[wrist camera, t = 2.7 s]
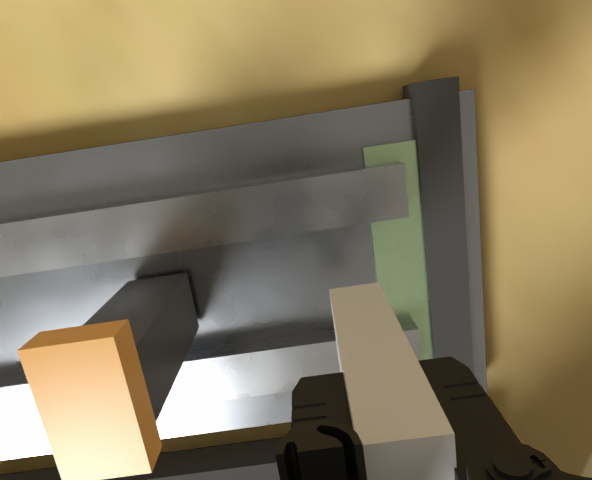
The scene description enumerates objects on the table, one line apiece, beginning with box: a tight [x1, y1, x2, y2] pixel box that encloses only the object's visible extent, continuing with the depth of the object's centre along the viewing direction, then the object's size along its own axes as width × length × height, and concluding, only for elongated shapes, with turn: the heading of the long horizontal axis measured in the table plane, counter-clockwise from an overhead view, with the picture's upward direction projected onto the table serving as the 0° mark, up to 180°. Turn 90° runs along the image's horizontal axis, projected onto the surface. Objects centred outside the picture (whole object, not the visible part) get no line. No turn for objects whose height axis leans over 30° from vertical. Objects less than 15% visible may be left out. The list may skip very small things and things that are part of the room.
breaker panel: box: [0, 89, 487, 461], centre depth 18 cm, size 26×13×2 cm, turn 98°
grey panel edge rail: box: [403, 76, 474, 374], centre depth 18 cm, size 2×14×2 cm, turn 8°
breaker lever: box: [17, 273, 199, 480], centre depth 15 cm, size 2×4×7 cm, turn 8°
